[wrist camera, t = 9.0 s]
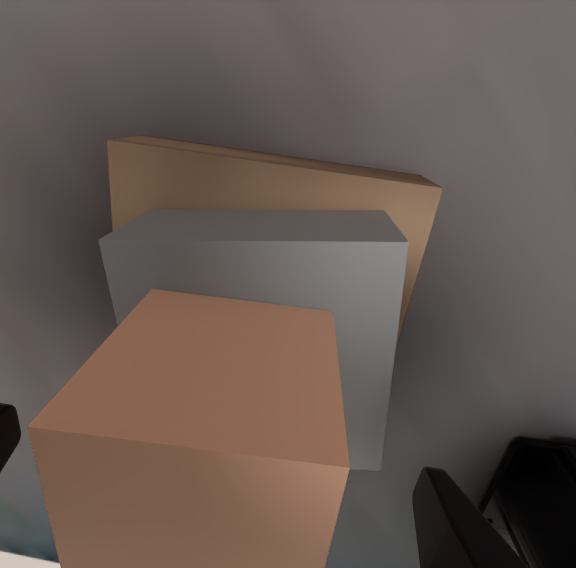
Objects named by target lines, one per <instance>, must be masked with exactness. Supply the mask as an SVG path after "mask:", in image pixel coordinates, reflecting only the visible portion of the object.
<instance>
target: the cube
mask: <svg viewBox="0 0 576 568" xmlns="http://www.w3.org/2000/svg"><path fill="white" fill-rule="evenodd" d="M27 428H28V433H29V437H30V441H31V445H32V449H33V453H34V458H35V462H36V466H37V470H38V474H39V478H40V482H41V487H42V491H43V495H44V499H45V503H46V507H47V512H48V516H49V520H50V524H51V528H52V532H53V537H54V541H55V545H56V549H57V553H58V557H59V562H60V566H61V568H325V564H326V560H327V556H328V552H329V548H330V544H331V540H332V536H333V532H334V528H335V524H336V520H337V516H338V512H339V508H340V505H341V501H342V497H343V493H344V489H345V485H346V481H347V477H348V473H349V469H350V465H349V455H348V446H347V437H346V427H345V418H344V409H343V399H342V390H341V381H340V371H339V362H338V353H337V343H336V334H335V325H334V315H333V311H326V310H318V309H310V308H302V307H294V306H286V305H278V304H270V303H262V302H254V301H246V300H238V299H230V298H222V297H214V296H206V295H198V294H190V293H182V292H174V291H166V290H158V289H151V290H150V292H149V293H148V294H147V295H146V296H145V297H144V298H143V299H142V300H141V302H140V303H139V304H138V305H137V306H136V307H135V308H134V309H133V310H132V311H131V313H130V314H129V315H128V316H127V317H126V318H125V319H124V320H123V321H122V322H121V324H120V325H119V326H118V327H117V328H116V329H115V330H114V331H113V332H112V334H111V335H110V336H109V337H108V338H107V339H106V340H105V341H104V342H103V343H102V345H101V346H100V347H99V348H98V349H97V350H96V351H95V352H94V353H93V355H92V356H91V357H90V358H89V359H88V360H87V361H86V362H85V363H84V364H83V366H82V367H81V368H80V369H79V370H78V371H77V372H76V373H75V374H74V376H73V377H72V378H71V379H70V380H69V381H68V382H67V383H66V384H65V385H64V387H63V388H62V389H61V390H60V391H59V392H58V393H57V394H56V395H55V397H54V398H53V399H52V400H51V401H50V402H49V403H48V404H47V405H46V406H45V408H44V409H43V410H42V411H41V412H40V413H39V414H38V415H37V416H36V418H35V419H34V420H33V421H32V422H31V423H30V424H29V425H28V426H27Z"/></svg>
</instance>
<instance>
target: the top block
mask: <svg viewBox="0 0 576 568" xmlns="http://www.w3.org/2000/svg"><path fill="white" fill-rule="evenodd" d="M98 242H99V246H100V250H101V255H102V259H103V264H104V268H105V273H106V277H107V282H108V286H109V291H110V295H111V300H112V304H113V308H114V313H115V317H116V322H117V326H119V325H120V324H121V322H122V321H123V320H124V319H125V318H126V317H127V316H128V315H129V314H130V313H131V311H132V310H133V309H134V308H135V307H136V306H137V305H138V304H139V303H140V302H141V300H142V299H143V298H144V297H145V296H146V295H147V294H148V293H149V292H150V290H151V289H158V290H166V291H174V292H182V293H190V294H198V295H206V296H214V297H222V298H230V299H238V300H246V301H254V302H262V303H270V304H278V305H286V306H294V307H302V308H310V309H318V310H326V311H333V315H334V325H335V334H336V343H337V353H338V362H339V371H340V381H341V390H342V399H343V409H344V418H345V427H346V437H347V446H348V455H349V465H350V469H355V470H378V471H380V470H381V462H382V454H383V446H384V438H385V430H386V422H387V414H388V406H389V398H390V390H391V381H392V373H393V365H394V357H395V349H396V341H397V333H398V325H399V317H400V309H401V301H402V293H403V285H404V277H405V269H406V261H407V253H408V245H409V242H408V240H407V239H406V238H405V236H404V235H403V234H402V232H401V231H400V230H399V229H398V227H397V226H396V225H395V223H394V222H393V221H392V219H391V218H390V217H389V215H388V214H387V213H386V212H385V210H149V211H147V212H145V213H144V214H142V215H140V216H138V217H137V218H135V219H133V220H131V221H130V222H128V223H126V224H125V225H123V226H121V227H119V228H118V229H116V230H114V231H112V232H111V233H109V234H107V235H106V236H104V237H102V238H100V239H99V240H98Z"/></svg>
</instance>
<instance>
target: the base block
mask: <svg viewBox="0 0 576 568" xmlns="http://www.w3.org/2000/svg"><path fill="white" fill-rule="evenodd" d="M107 152H108V167H109V183H110V198H111V213H112V229H113V231H114V230H116V229H118V228H119V227H121V226H123V225H125V224H126V223H128V222H130V221H131V220H133V219H135V218H137V217H138V216H140V215H142V214H144V213H145V212H147V211H149V210H385V212H386V213H387V214H388V215H389V217H390V218H391V219H392V221H393V222H394V223H395V225H396V226H397V227H398V229H399V230H400V231H401V232H402V234H403V235H404V236H405V238H406V239H407V240H408V242H409V245H408V253H407V261H406V269H405V277H404V285H403V293H402V301H401V309H400V317H399V325H398V333H397V341H396V346H397V342H398V339H399V336H400V332H401V329H402V325H403V322H404V319H405V315H406V312H407V309H408V305H409V302H410V299H411V295H412V292H413V288H414V285H415V282H416V278H417V275H418V272H419V268H420V265H421V261H422V258H423V255H424V251H425V248H426V245H427V241H428V238H429V235H430V231H431V228H432V224H433V221H434V218H435V214H436V211H437V208H438V204H439V201H440V198H441V194H442V191H443V188H442V187H440V186H439V185H437V184H435V183H433V182H432V181H430V180H428V179H426V178H424V177H423V176H421V175H415V174H408V173H401V172H394V171H387V170H380V169H373V168H366V167H359V166H352V165H345V164H338V163H331V162H324V161H318V160H311V159H304V158H297V157H290V156H283V155H276V154H269V153H262V152H255V151H248V150H241V149H234V148H227V147H220V146H213V145H206V144H199V143H192V142H186V141H179V140H172V139H165V138H158V137H151V136H144V135H142V136H134V137H125V138H117V139H108V140H107Z"/></svg>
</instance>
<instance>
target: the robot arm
mask: <svg viewBox="0 0 576 568" xmlns="http://www.w3.org/2000/svg"><path fill="white" fill-rule="evenodd" d="M20 437H21V429H20V424H19V420H18V415H17V411H16V408H15V407H14V406H13V405H10V404H3V403H0V472H1V471H2V469H3V467H4V466H5V464H6V462H7V461H8V459H9V458H10V456H11V454H12V453H13V451H14V450H15V448H16V446H17V445H18V443H19V440H20ZM413 510H414V519H415V527H416V535H417V544H418V552H419V560H420V568H576V446H571V445H564V444H557V443H550V442H544V441H537V440H530V439H519V440H517V441H515V442H514V443H513V444H512V446H511V448H510V450H509V452H508V454H507V456H506V457H505V459H504V461H503V463H502V465H501V467H500V469H499V471H498V473H497V475H496V477H495V479H494V481H493V483H492V485H491V487H490V489H489V490H488V492H487V494H486V496H485V498H484V500H483V502H482V504H481V506H480V508H479V509H478V508H477V507H476V506H475V505H474V504H473V503H472V501H471V500H470V499H469V498H468V497H467V496H466V494H465V493H464V492H463V491H462V490H461V489H460V487H459V486H458V485H457V484H456V483H455V482H454V480H453V479H452V478H451V477H450V476H449V475H448V474H447V472H446V471H444V470H443V469H440V468H433V467H424V468H423V469H422V471H421V473H420V476H419V478H418V481H417V483H416V486H415V488H414V491H413ZM495 528H496V529H503V530H507V531H508V533H509V535H510V537H511V539H512V541H513V543H514V546H515V548H516V550H517V552H518V554H519V556H520V557H519V556H518V555H517V554H516V552H515V551H514V550H513V549H512V548H511V547H510V545H509V544H508V543H507V542H506V541H505V540H504V538H503V537H502V536H501V535H500V534H499V533H498V532H497V530H496V529H495Z"/></svg>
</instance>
